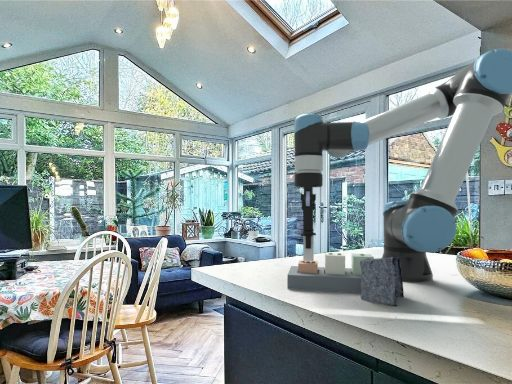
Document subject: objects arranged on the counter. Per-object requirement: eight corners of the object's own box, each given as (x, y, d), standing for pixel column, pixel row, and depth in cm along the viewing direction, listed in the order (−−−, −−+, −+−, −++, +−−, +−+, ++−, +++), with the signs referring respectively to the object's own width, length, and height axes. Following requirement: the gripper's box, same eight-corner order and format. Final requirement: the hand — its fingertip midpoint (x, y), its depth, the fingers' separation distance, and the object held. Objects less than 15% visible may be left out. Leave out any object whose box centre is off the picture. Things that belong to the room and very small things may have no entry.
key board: (378, 285, 95) (378, 269, 95) (386, 298, 84) (386, 279, 84) (291, 281, 100) (291, 266, 100) (287, 292, 88) (287, 274, 88)
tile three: (317, 279, 95) (317, 260, 95) (317, 283, 90) (317, 263, 90) (299, 278, 96) (299, 259, 96) (298, 282, 91) (298, 262, 91)
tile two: (343, 271, 94) (343, 252, 94) (345, 275, 89) (345, 255, 89) (325, 270, 95) (325, 251, 95) (325, 274, 90) (325, 254, 90)
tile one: (370, 272, 92) (370, 253, 93) (373, 276, 88) (373, 256, 88) (351, 272, 93) (351, 252, 94) (353, 276, 88) (353, 255, 89)
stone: (413, 311, 79) (404, 308, 71) (370, 312, 84) (356, 309, 76) (405, 259, 84) (396, 251, 76) (365, 263, 89) (351, 255, 81)
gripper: (296, 174, 101) (296, 255, 100) (292, 170, 88) (292, 264, 87) (322, 174, 99) (322, 256, 99) (322, 170, 87) (322, 265, 86)
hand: (308, 260), depth 93 cm, fingers closed
